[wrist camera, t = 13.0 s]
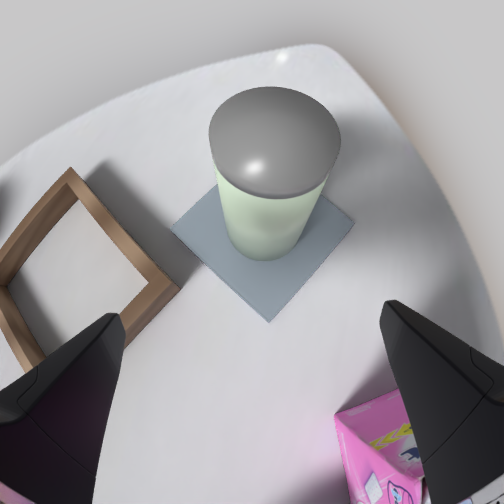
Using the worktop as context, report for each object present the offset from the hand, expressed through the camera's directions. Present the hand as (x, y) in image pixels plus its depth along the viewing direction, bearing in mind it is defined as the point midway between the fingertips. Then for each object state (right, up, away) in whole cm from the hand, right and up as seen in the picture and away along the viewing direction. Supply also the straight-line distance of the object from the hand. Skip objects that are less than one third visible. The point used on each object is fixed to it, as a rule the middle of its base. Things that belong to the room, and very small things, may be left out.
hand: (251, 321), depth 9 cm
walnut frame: (-16, -1, +14) cm, 21 cm away
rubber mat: (+1, +4, +15) cm, 16 cm away
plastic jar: (+1, +4, +15) cm, 15 cm away
